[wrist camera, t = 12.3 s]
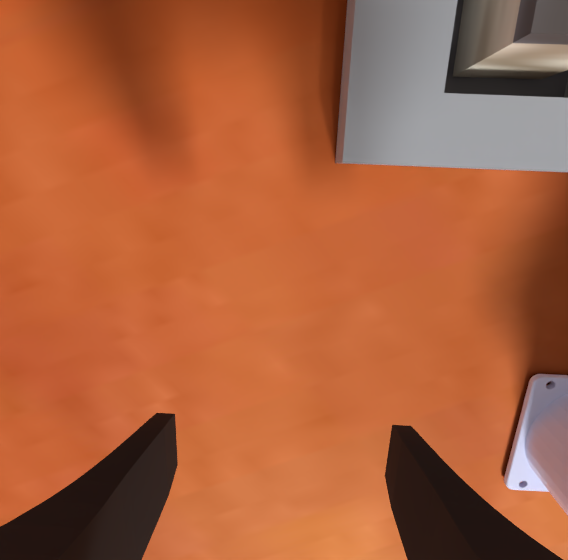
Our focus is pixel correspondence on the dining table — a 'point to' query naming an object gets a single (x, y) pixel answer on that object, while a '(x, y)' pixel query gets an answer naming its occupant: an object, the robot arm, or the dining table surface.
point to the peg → (512, 39)
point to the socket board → (439, 97)
